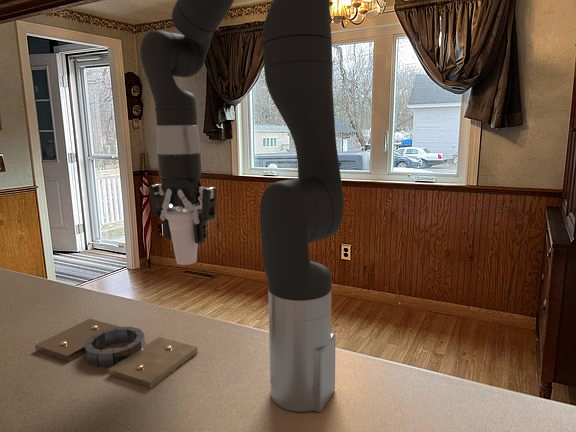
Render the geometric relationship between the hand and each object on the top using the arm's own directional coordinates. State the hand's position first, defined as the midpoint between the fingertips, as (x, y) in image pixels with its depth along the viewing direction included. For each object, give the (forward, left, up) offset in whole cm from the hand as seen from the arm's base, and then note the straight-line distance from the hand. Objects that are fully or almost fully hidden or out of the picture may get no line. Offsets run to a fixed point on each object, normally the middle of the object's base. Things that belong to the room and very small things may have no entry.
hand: (185, 240), depth 80 cm
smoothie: (0, 0, -4) cm, 4 cm away
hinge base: (+9, +11, -20) cm, 24 cm away
